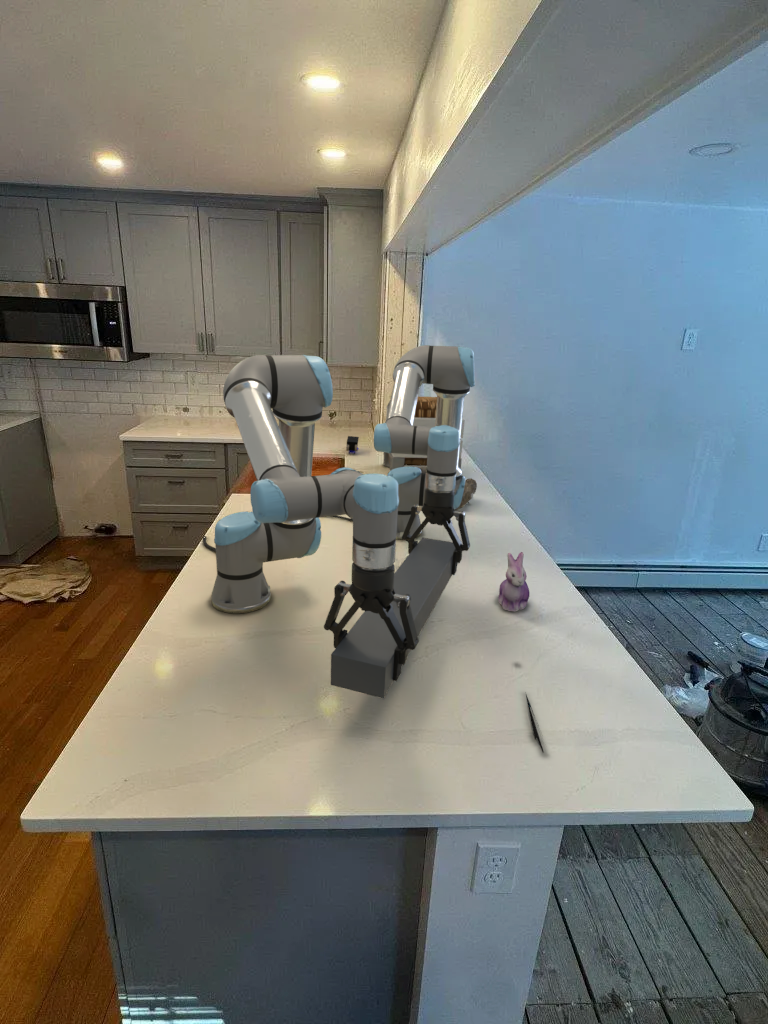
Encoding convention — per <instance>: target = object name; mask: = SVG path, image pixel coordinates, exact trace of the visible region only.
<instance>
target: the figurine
mask: <svg viewBox="0 0 768 1024" xmlns="http://www.w3.org/2000/svg"><path fill="white" fill-rule="evenodd" d="M506 556H507V569H506V571H505V579H504V580H502V581H501V583H500V585H499V591H498V592H499V593H498V597H497V598H498V600H497V601H498V604H499V605H500V606H501V607H502V609H503V610H505V611H507V612H508V611H509V612H518V611H520V610H521V611H522V610H524V609H525V608H526V607H527V605H528V601H529V599H530V588H529V585H528V584H527V581H526V580H527V571H526V570H525V567H524V552H523V551H520V552H519V553H518V555H517V557H516V559H515V557H514V556H513V554H512V553H511V552H508V553H507V555H506Z"/></svg>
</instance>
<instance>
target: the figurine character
mask: <svg viewBox="0 0 768 1024" xmlns="http://www.w3.org/2000/svg"><path fill="white" fill-rule="evenodd" d="M359 438H360V437H359V436H353V435H348V436H347V439H346V446H345V447H346V449H345V451H346V452H348V455H351V454H352V453H353V455H356V452H358V450H359V447H358V445H359V440H360V439H359Z"/></svg>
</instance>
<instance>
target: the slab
mask: <svg viewBox="0 0 768 1024" xmlns="http://www.w3.org/2000/svg"><path fill="white" fill-rule="evenodd" d="M454 550H455V546H454V544H453V542H452V541H447V540H441V539H435V538H429V537H424V536H423V537H421V538H420V539H419V541H418V544H417V545H416V546H415V548H414V549H413V550H412V551H411V553H410V554H409V553H408V555H407V556H406V557H405V558H404V560H403V561H402V563H401V564H400V565H399V567H398V568H397V569H396V571H394V586H393V587H394V591H395V593H396V594H399V595H403V596H404V595H405V594H409V595H410V596H411V600H410V608H411V612H412V616H413V620H414V624H415V628H416V632H417V635H418V637H420V635H421V633H422V631H423V629H424V627H425V626H426V624H427V622H428V620H429V618H430V617H431V615H432V612H433V611H434V609H435V607H436V606H437V603H438V602H439V600H440V598H441V597H442V594H443V592H444V591H445V589H446V588H447V585H448V584H449V581H450V580H451V578H452V576H453V575H451V574H452V563H453V552H454ZM458 564H459V563H457V566H459V565H458ZM391 605H392V606H393V609H394V610H393V611H394V613H395V615H396V617H397V619H398V621H399V623H400V625H401V627H402V628H403V624H402V620H401V616H400V611H399V609H400V608H398V607H397V604H396V602H395V601H392V602H391ZM403 630H404V628H403ZM396 647H397V644H396V642H395V640H394V638H393V636H392V634H391V633H390V631H389V629H388V627H387V625H386V623H385V621H384V620H383V619H381V617H380V615H379V613H378V614H376V613H373V612H371V611H363V613H362V614H361V615H360V616H359V618H358V619H357V620H356V621H355V623H354V624H353V625H352V627H351V628H350V629H349V631H347V635H346V636H345V637H344V638H343V640H342V641H341V642H340V643H339V645H338V646H337V647H336V648H334V650H333V651H332V652H331V654H330V686H334V687H337V688H340V689H345V690H349V691H353V692H357V693H361V694H364V695H367V696H372V697H376V698H379V699H383V700H384V699H385V698H386V696H387V694H388V692H389V691H390V689H391V687H392V685H393V683H394V682H395V681H394V680H393V669H394V650H395V648H396ZM411 651H412V650H411V649H408V655H407V657H409V654H410V652H411Z"/></svg>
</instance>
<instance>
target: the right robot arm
mask: <svg viewBox="0 0 768 1024" xmlns="http://www.w3.org/2000/svg"><path fill="white" fill-rule="evenodd" d="M475 379H476V376H475V353H474V350H473V349H472V348H471V347H466V346H465V347H464V346H459V345H458V346H455V345H429V344H424V345H419V346H415V347H413V348H411V349H409V350H408V351H407V352H405V353H404V354H403V355H402V356H401V357H400V358H399V359H398V361H397V362H396V363H395V365H394V368H393V372H392V380H393V386H392V391H391V395H390V398H389V399H390V400H389V401H390V404H389V408H388V412H387V411H386V412H387V417H386V416H385V421H384V422H383V423H377V424H376V425H375V427H374V431H373V432H374V433H373V447H374V450H375V451H376V452H378V453H384V452H386V453H397V454H414V455H426V456H427V466H426V471H425V472H422V469H421V468H420V467H419V466H418V467H417V466H404V467H400V468H396V469H393V470H391V471H390V470H389V471H388V473H387V475H386V476H391V477H393V478H394V479H395V480H396V481H397V483H398V496H399V505H398V517H397V531H396V541H406V542H407V543H408V548H407V553H408V555H409V554H410V553H411V551H412V550H413V549H414V548H415V546H416V545H417V544H418V542H419V541H418V540H416V539H418V538H420V537H421V536H422V535H423V530H424V529H425V528H426V526H427V525H428V523H429V524H430V525H437V526H440V527H442V526H443V527H444V529H445V530H446V532H447V535H448V536H449V538H450V540H451V542H453V544H454V546H455V550H454V552H453V563H452V574H451V575H452V576H455V575H456V573H457V571H458V565H457V563H458V564H460V563H461V562H462V559H463V552H468V551H469V549H470V548H471V542H470V538H469V532H468V528H467V524H466V511H465V510H462V511H456V510H458V509H457V508H458V507H459V506H460V503H461V500H462V496H463V492H464V486H465V480H466V477H465V476H464V475H463V471H462V468H461V469H460V468H459V467H458V459H459V448H460V439H461V438H460V437H461V427H462V419H463V414H464V403H465V397H466V396H467V395H468V394H470V392H471V391H470V390H471V389H470V388H473V387H475V385H476V380H475ZM424 384H425V385H432V391H433V393H435V395H436V397H437V405H436V420H435V427H424V426H413V421H414V415H415V409H416V403H417V398H418V397H419V391H420V387H422V385H424ZM454 509H456V510H454ZM421 512H422V514H423V515H424V517H425V518H424V519H423V521H422V522H421V518H420V515H419V514H421ZM453 517H455V520H456V521H457V525H458V530H459V534H460V537H459V535H458V533H457V530H456V528H455V527H454V524H453V521H452V518H453ZM328 518H336V519H340V520H341V519H342V520H346V521H350V522H352V523H353V520H352V519H351V518H350V517H346V516H343V515H337V516H328Z"/></svg>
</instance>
